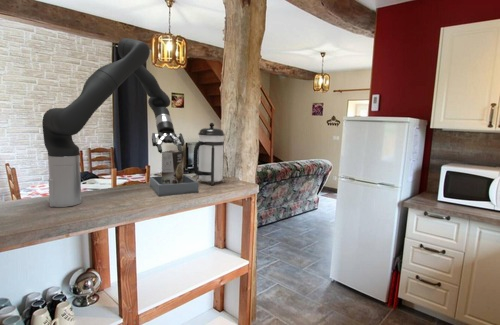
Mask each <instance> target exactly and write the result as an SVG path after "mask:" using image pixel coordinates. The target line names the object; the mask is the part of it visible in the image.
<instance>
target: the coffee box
mask: <svg viewBox="0 0 500 325" xmlns="http://www.w3.org/2000/svg"><path fill="white" fill-rule="evenodd" d="M183 175H184V150H182V151H178V150H167V151H165V150H164V151H162V153H161V176H162V185H165V184H179V183H183Z"/></svg>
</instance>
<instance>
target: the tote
mask: <svg viewBox="0 0 500 325" xmlns="http://www.w3.org/2000/svg"><path fill="white" fill-rule="evenodd" d="M198 182H199V181H198V180H197V181H196V179H193V178H191V177H190V176H188V175H187V174H183V183H179V184H165V185H162V175H160V176H159V175H158V176H157V175H155V176H149V187H150V189H151V190H152V191H153V192H154V193H155V194H156V195H157V196H158V197H165V196H177V195H188V194H198V193H199V183H198Z"/></svg>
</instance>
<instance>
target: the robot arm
mask: <svg viewBox="0 0 500 325" xmlns="http://www.w3.org/2000/svg"><path fill="white" fill-rule="evenodd" d="M117 43H118V44H117V53H118V55H119V57H120V58H121V59H119V60H116V61H113V62H111V63H107V64H105V65H103V66H101V67H99V68H98V69H96V70H95V71H93V73H91V75H90V76H89V77H88V78H87V79H86V81H85V83H84V85H83V87H82V91H81V93H80V95H78V97H77V98H76V99H75V100H73V101H72V102H71V103H69V105H67V106H66V107H53V108H52V107H51V108H49V109H48V110H46V112H45V111H44V112H45V113H44V114H43V117H42V124H41V125H42V134H43V143H44V147H45V148H46V151H47V159H48V160H47V161H48V193H49V195H48V196H49V198H48V199H49V207H50V208H51V207H52V208H53V207H56V208H64V207H72V206H76V205H77V206H78V205H79V204H81V203H82V182H81V179H82V178H81V162H80V161H81V160H80V159H81V158H80V155H81V154H80V147H79V146H78V145H77V144H76V143H75V142H74V140H73V136H75V135H77V134H78V133H79V132H81V131H82V129H83V128H84V127H85V125H86V124H87V122H88V121H89V120H90V119H91V117H92V116H93V115H94V113H95V112H96V111H97V110H98V109H99V108H100V107H101V106H102V105H103V104H104V103H105V102H106V101H107V99H109V98H110V97H111V96H112V95H113V94H114V93H115V92H116V91H117V90H118V88H119V87H120V86H121V85H122V84H123V83H124V82H125V81H126V80H127V79H128V78H129V77H130V76H131V75H132V74H133V75H134V76H135V77H136V78H137V80H138V81H139V83H140V85H141V86H142V88H143V90H144V91H145V94H147V96H148V97H149V98H148V101H147V103H148V106H149V107H150V109H151V111H152V112H153V114H154V117H155V125H156V130H157V134H156V132H152V134H151V142H152V145H151V146H152V147H156V148H157V152H158V153H159V154H162V152H163V148H162V145H163V143H164V144H173V145H174V146H176V147H177V151H183V147H184V145H185V143H186V142H185V139H184V136H183V134H182V133H179V134H176V133H175V128H174V125H173V121H172V118H171V115H170V111H169V109H168V107H170V105H171V99H170V97H169V95H168V94H167V93H166V92H165V91H164V90H163V89H162V88H161V87H160V84H159V82H158V81H157V80H158V79H157V78H156V77H155V76H154V75H153V74H152V73H151V72H150V71H149V70H148V69H147V68H146V67H145V66H144V64H145V63H146V62H147V61H148V59H149V57H150V53H151V50H150V46H149V45H148V44H147V43H146V42H144V41H143V40H139V39H134V38H127V37H126V38H125V37H123V38H121V39H120V40H119V41H118V42H117ZM157 138H158V139H159V140H158V141H157Z"/></svg>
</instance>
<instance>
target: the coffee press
mask: <svg viewBox="0 0 500 325" xmlns="http://www.w3.org/2000/svg"><path fill="white" fill-rule="evenodd" d="M214 126H215V123H213V122H210V123H209V127H203V128H201V129H200V130H199V132H198V134H197V135H198V142H196V144H195V145H194V148H193V158H192V160H193V172H194V174H195V175H197V178H196V179H195V181H197V182H198V184H199V183H200V182H206V183H210V186H215V183H216V182H217V183H218V182H222V183H226V180H225V178H224V164H225V163H224V162H225V161H224V160H225V159H224V157H225V153H224V152H225V140H224V139H225V132H224V130H223V129H221V128H216V127H215V128H214ZM198 179H199V181H198ZM222 180H224V181H222Z"/></svg>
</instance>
